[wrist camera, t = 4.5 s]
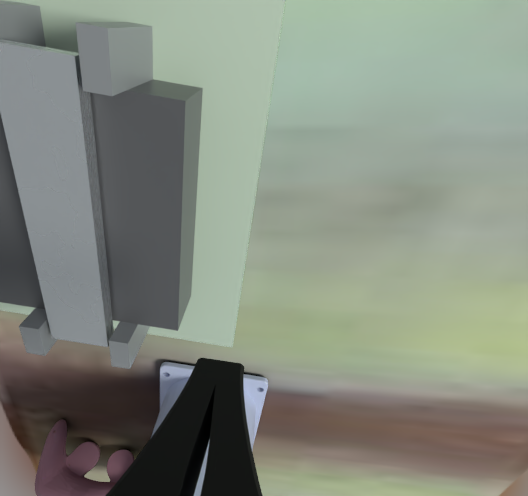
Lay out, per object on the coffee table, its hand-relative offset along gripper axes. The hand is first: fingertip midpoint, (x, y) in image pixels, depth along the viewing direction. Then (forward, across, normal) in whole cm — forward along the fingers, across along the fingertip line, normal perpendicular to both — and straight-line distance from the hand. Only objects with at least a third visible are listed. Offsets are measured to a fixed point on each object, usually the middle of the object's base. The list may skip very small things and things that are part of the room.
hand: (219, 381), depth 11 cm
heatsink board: (+10, +8, -1) cm, 13 cm away
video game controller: (+11, +10, +25) cm, 29 cm away
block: (+7, +8, -1) cm, 10 cm away
